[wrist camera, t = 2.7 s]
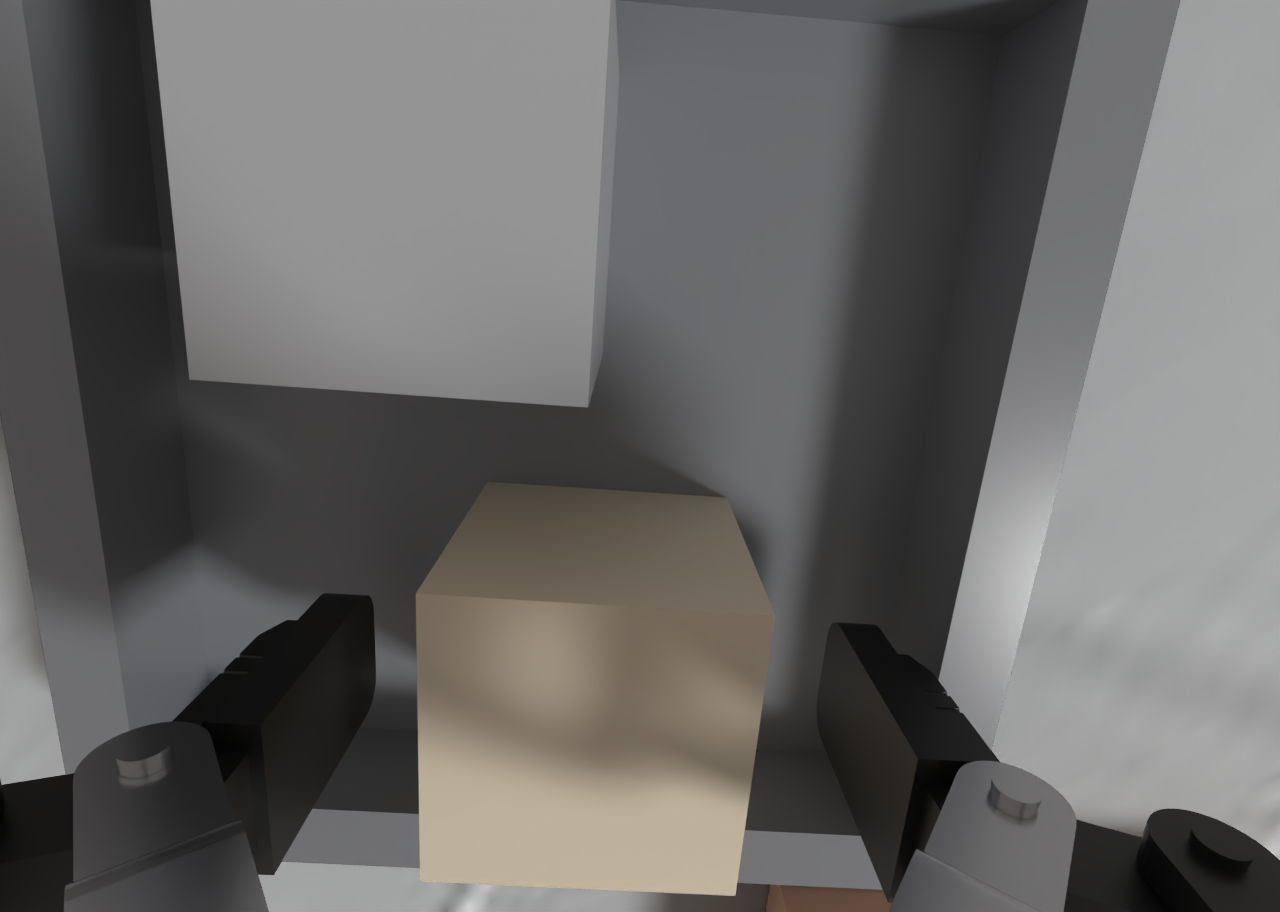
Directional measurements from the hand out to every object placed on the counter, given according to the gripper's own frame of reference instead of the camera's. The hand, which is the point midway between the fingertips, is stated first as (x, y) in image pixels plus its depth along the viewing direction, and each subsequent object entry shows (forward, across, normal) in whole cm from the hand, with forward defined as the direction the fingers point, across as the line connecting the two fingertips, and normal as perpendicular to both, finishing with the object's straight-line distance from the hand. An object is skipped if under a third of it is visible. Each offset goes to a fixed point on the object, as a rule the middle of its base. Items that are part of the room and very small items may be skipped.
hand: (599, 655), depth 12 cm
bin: (+2, +1, -4) cm, 5 cm away
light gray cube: (+2, +2, -7) cm, 8 cm away
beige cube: (+2, 0, 0) cm, 2 cm away
